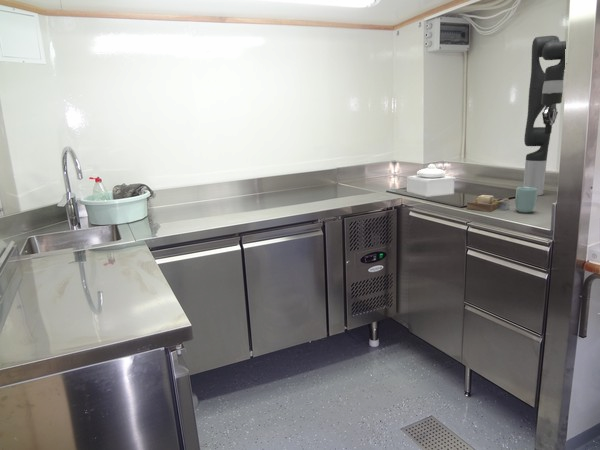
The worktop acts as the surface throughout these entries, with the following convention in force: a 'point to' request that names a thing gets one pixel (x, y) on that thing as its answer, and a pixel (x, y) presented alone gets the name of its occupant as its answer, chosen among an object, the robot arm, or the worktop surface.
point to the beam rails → (484, 205)
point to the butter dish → (430, 182)
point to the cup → (525, 199)
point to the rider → (485, 199)
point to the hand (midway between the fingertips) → (547, 134)
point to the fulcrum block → (503, 205)
